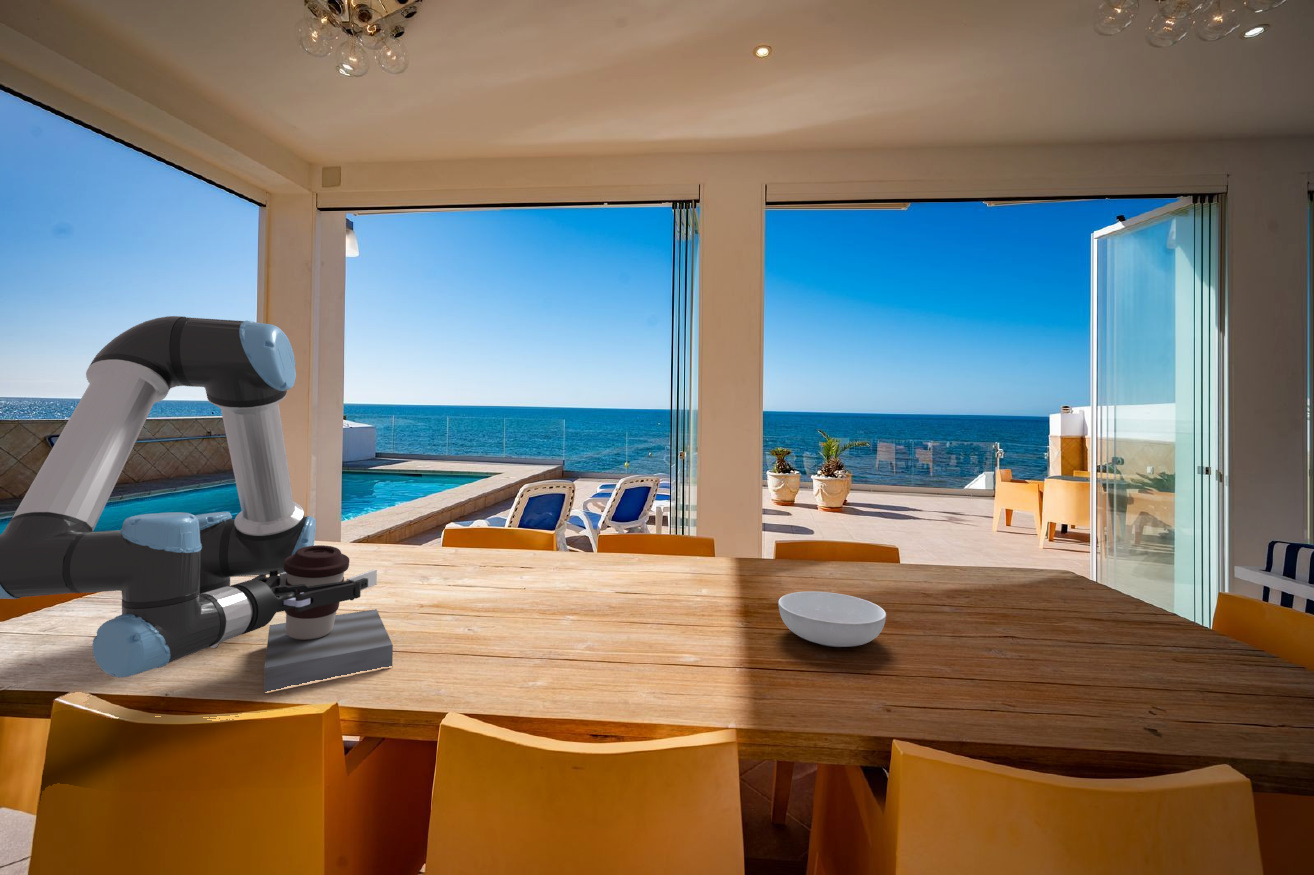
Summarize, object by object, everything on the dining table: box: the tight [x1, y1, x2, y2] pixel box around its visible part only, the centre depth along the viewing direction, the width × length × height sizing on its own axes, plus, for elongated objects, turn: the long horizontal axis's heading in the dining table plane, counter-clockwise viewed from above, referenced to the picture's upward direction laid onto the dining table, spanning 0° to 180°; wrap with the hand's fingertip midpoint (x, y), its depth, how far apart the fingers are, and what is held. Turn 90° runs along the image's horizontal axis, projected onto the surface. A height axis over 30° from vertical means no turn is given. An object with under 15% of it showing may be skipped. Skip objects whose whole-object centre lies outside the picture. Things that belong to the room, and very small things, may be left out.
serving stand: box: [263, 608, 394, 693], centre depth 98 cm, size 22×18×4 cm
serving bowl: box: [777, 590, 887, 648], centre depth 111 cm, size 21×21×7 cm
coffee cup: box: [283, 544, 350, 640], centre depth 97 cm, size 10×10×15 cm
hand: (343, 574), depth 101 cm, fingers open, 13 cm apart
